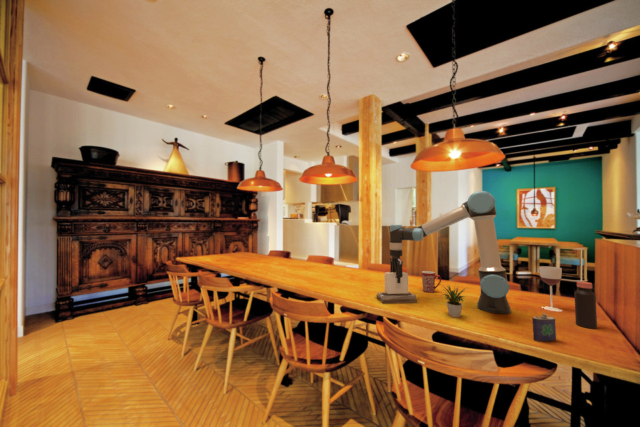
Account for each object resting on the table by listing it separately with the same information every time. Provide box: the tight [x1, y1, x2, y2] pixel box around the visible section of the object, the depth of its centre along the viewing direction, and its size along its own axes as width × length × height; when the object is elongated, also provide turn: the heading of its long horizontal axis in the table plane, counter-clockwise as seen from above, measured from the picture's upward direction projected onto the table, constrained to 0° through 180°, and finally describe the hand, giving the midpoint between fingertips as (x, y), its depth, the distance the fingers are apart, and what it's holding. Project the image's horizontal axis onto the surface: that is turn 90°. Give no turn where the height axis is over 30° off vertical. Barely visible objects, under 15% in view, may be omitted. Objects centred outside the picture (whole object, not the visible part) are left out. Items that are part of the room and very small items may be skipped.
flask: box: [531, 312, 557, 343], centre depth 100 cm, size 9×3×11 cm, turn 95°
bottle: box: [573, 281, 598, 330], centre depth 115 cm, size 7×7×20 cm
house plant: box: [439, 283, 468, 318], centre depth 128 cm, size 14×14×16 cm
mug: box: [421, 270, 442, 294], centre depth 173 cm, size 13×9×14 cm
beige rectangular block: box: [384, 271, 409, 294], centre depth 153 cm, size 13×5×12 cm, turn 96°
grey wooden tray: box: [376, 291, 418, 305], centre depth 152 cm, size 12×21×4 cm, turn 96°
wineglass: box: [538, 265, 563, 313], centre depth 139 cm, size 9×10×23 cm
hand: (396, 287), depth 153 cm, fingers closed on beige rectangular block, 5 cm apart
